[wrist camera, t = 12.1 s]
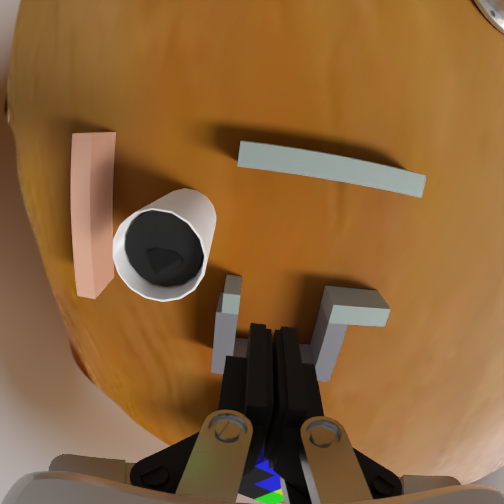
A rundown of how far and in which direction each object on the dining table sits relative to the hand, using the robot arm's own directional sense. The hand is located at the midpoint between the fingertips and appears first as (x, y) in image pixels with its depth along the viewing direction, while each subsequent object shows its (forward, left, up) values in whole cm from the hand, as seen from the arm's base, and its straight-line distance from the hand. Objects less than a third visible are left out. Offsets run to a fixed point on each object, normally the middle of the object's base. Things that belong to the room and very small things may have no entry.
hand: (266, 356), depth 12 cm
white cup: (+7, +1, -20) cm, 21 cm away
